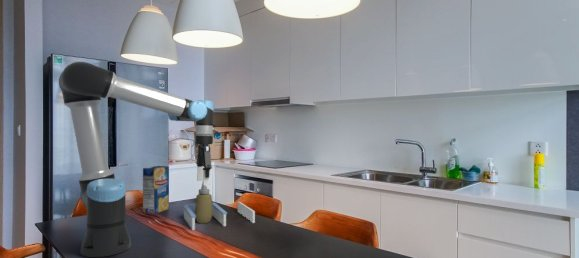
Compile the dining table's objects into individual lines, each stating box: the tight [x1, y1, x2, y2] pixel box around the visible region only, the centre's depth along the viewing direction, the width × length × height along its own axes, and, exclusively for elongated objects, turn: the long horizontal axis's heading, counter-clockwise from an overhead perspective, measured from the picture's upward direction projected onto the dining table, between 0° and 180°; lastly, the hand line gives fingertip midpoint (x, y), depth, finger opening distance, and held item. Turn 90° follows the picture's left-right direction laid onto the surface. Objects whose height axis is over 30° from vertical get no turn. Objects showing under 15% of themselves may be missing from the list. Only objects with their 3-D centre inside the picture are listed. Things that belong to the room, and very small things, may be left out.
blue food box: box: [142, 165, 170, 215], centre depth 173 cm, size 7×11×22 cm, turn 162°
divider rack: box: [182, 201, 256, 231], centre depth 155 cm, size 23×27×6 cm
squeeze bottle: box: [195, 182, 213, 224], centre depth 152 cm, size 8×8×18 cm
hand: (203, 183), depth 152 cm, fingers open, 13 cm apart
